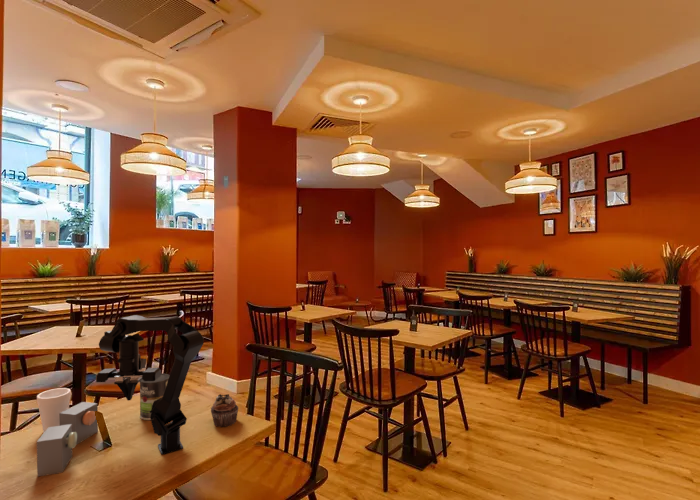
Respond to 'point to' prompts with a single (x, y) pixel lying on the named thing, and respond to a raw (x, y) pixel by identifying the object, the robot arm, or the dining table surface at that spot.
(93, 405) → the right button box
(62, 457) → the left button box
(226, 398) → the cupcake
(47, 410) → the foam cup
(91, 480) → the dining table surface
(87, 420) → the terracotta button
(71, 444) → the sage button
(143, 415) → the coffee can
